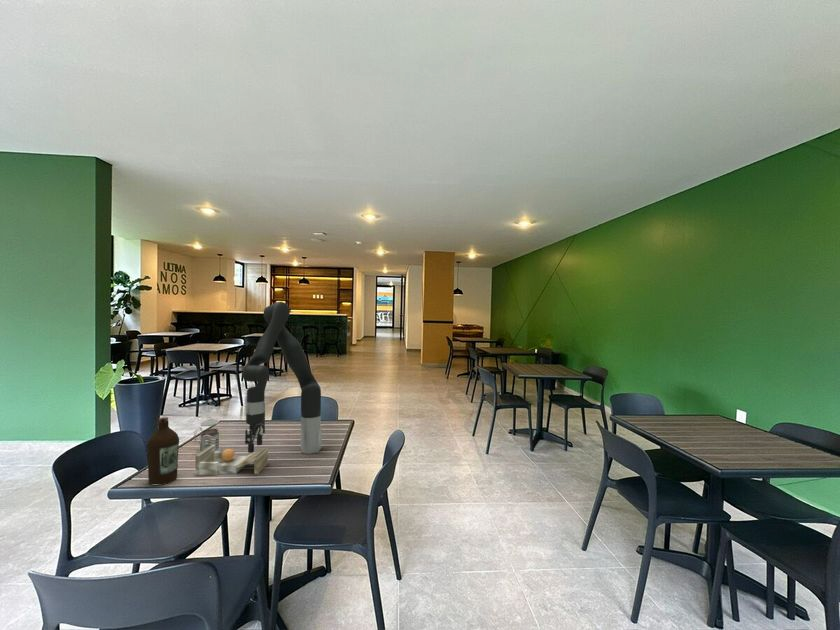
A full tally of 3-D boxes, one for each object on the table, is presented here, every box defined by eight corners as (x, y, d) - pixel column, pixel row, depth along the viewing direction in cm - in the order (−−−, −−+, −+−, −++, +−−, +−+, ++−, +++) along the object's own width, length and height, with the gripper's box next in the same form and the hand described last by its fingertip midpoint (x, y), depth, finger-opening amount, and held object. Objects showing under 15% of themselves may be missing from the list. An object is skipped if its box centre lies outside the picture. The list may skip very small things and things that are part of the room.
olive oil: (140, 483, 144) (140, 420, 143) (168, 472, 153) (168, 413, 153) (157, 488, 139) (157, 423, 139) (184, 477, 149) (185, 416, 149)
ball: (224, 447, 160) (236, 446, 160) (226, 459, 160) (237, 457, 160) (218, 452, 155) (230, 450, 155) (220, 463, 155) (232, 462, 155)
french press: (224, 450, 177) (224, 399, 177) (197, 457, 169) (197, 404, 168) (217, 445, 184) (217, 396, 184) (190, 452, 175) (191, 400, 175)
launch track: (268, 462, 164) (269, 445, 164) (257, 475, 152) (257, 456, 152) (211, 462, 164) (212, 444, 163) (195, 475, 151) (195, 455, 151)
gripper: (254, 406, 165) (253, 442, 165) (239, 416, 150) (238, 455, 150) (270, 407, 165) (270, 442, 165) (257, 416, 150) (257, 455, 151)
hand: (255, 448), depth 158 cm, fingers open, 8 cm apart
